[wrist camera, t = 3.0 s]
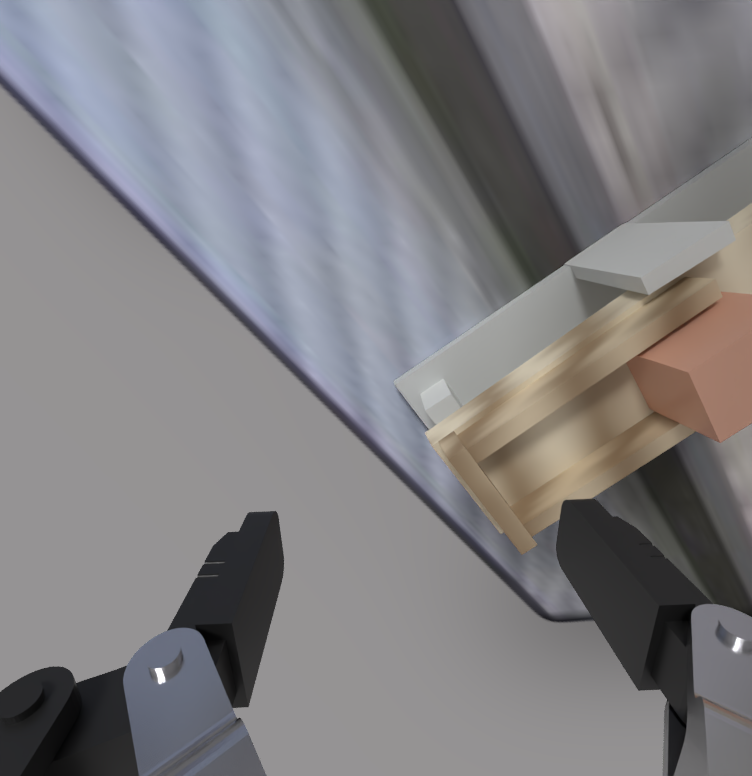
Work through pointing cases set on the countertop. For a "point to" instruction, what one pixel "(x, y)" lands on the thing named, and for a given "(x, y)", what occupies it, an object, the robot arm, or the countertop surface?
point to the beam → (580, 403)
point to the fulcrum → (586, 287)
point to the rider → (703, 369)
